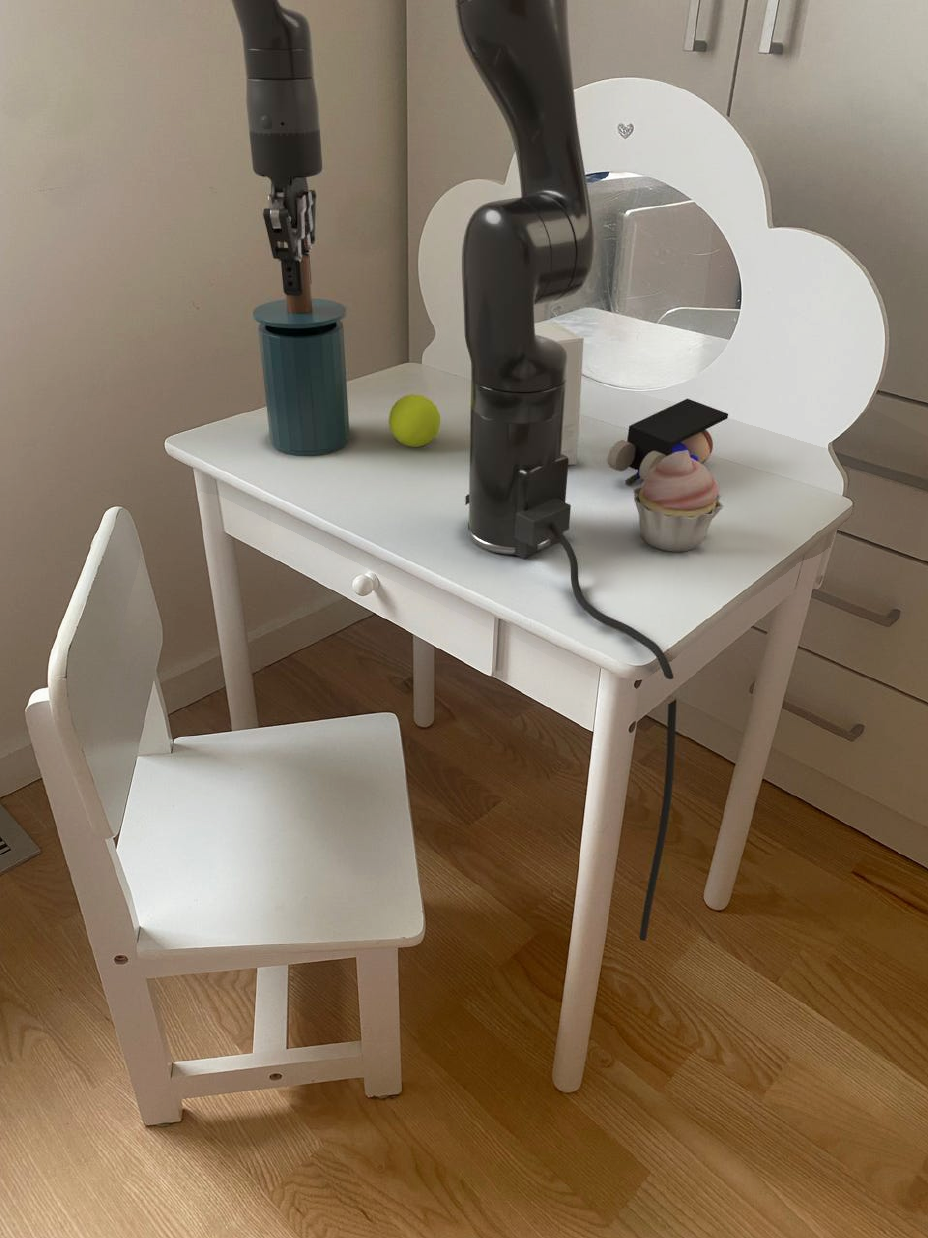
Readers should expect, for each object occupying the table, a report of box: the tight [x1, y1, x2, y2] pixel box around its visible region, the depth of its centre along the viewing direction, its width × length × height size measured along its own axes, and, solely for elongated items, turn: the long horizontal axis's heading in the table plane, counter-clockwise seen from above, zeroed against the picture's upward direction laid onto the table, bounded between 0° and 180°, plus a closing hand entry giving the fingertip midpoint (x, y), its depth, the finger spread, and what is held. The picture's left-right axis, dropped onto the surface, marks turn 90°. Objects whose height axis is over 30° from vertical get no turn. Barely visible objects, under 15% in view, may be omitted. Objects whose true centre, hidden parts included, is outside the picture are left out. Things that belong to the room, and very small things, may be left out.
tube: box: [257, 320, 351, 457], centre depth 118 cm, size 10×10×15 cm
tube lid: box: [252, 255, 348, 328], centre depth 112 cm, size 11×11×7 cm
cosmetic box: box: [534, 320, 585, 466], centre depth 115 cm, size 8×7×16 cm
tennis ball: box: [388, 394, 441, 448], centre depth 120 cm, size 6×6×6 cm
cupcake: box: [632, 450, 725, 553], centre depth 99 cm, size 9×9×10 cm
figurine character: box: [607, 398, 729, 486], centre depth 113 cm, size 7×8×15 cm
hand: (298, 289), depth 112 cm, fingers closed on tube lid, 3 cm apart
